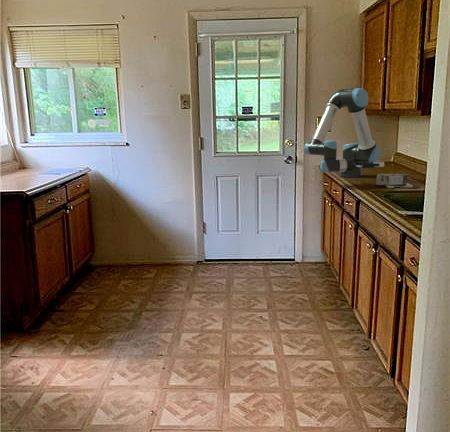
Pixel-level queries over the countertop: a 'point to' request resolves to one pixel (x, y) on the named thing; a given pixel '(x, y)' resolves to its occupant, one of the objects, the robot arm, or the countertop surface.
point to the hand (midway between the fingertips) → (383, 164)
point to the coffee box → (391, 179)
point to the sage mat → (399, 186)
